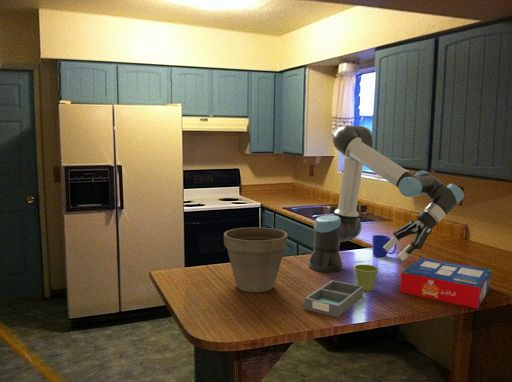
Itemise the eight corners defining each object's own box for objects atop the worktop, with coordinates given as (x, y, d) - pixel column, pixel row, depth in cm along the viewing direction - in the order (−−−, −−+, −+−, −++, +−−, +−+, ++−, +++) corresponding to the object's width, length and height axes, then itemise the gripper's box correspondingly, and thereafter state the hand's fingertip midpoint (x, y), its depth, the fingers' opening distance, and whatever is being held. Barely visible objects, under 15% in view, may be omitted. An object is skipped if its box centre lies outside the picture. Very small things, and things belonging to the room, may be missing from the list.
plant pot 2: (363, 294, 178) (365, 272, 177) (348, 286, 187) (349, 265, 185) (382, 291, 183) (383, 269, 182) (366, 283, 191) (367, 263, 190)
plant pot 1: (209, 286, 182) (210, 232, 180) (250, 273, 201) (251, 224, 198) (258, 302, 167) (260, 243, 164) (298, 286, 185) (300, 233, 183)
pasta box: (419, 275, 205) (400, 292, 182) (420, 257, 204) (401, 272, 181) (489, 288, 190) (478, 309, 167) (491, 269, 189) (479, 287, 166)
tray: (303, 309, 161) (303, 298, 161) (331, 290, 182) (332, 280, 182) (337, 317, 155) (338, 306, 154) (362, 296, 176) (363, 286, 175)
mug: (396, 259, 230) (398, 239, 228) (371, 257, 232) (372, 238, 231) (395, 255, 238) (396, 236, 236) (371, 253, 240) (372, 234, 239)
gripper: (453, 229, 173) (413, 269, 172) (421, 217, 197) (385, 252, 197) (441, 215, 171) (400, 255, 171) (410, 204, 196) (374, 240, 196)
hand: (392, 254), depth 184 cm, fingers open, 13 cm apart
